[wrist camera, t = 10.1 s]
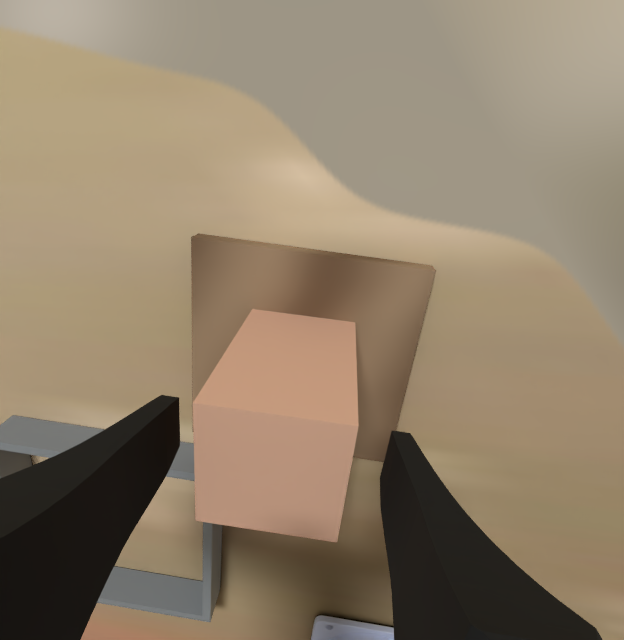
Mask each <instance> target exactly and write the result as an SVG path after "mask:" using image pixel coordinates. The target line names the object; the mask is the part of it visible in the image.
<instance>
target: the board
mask: <svg viewBox="0 0 624 640" xmlns="http://www.w3.org/2000/svg"><path fill="white" fill-rule="evenodd" d="M191 258H192V415H193V402H194V400H195V399H196V397H197V396H198V394H199V392H200V391H201V389H202V388H203V386H204V385H205V383H206V381H207V380H208V378H209V377H210V375H211V373H212V372H213V370H214V369H215V367H216V366H217V364H218V362H219V361H220V359H221V358H222V356H223V355H224V353H225V351H226V350H227V348H228V347H229V345H230V343H231V342H232V340H233V339H234V337H235V336H236V334H237V332H238V331H239V329H240V328H241V326H242V325H243V323H244V321H245V320H246V318H247V317H248V315H249V313H250V312H251V310H252V309H256V310H264V311H272V312H280V313H287V314H295V315H303V316H310V317H318V318H326V319H333V320H341V321H349V322H355V326H356V358H357V390H358V423H359V427H358V432H357V438H356V443H355V448H354V454H353V457H356V458H362V459H369V460H375V461H381V462H384V460H385V456H386V451H387V447H388V443H389V439H390V435H391V431H396V427H397V424H398V420H399V416H400V412H401V408H402V404H403V400H404V396H405V392H406V388H407V384H408V380H409V376H410V372H411V368H412V364H413V360H414V356H415V352H416V348H417V344H418V340H419V336H420V332H421V328H422V324H423V320H424V316H425V313H426V309H427V305H428V301H429V297H430V293H431V289H432V285H433V281H434V277H435V273H436V270H435V269H434V268H433V266H430V265H423V264H416V263H408V262H401V261H394V260H387V259H379V258H372V257H365V256H357V255H350V254H343V253H335V252H328V251H321V250H314V249H306V248H299V247H292V246H284V245H277V244H270V243H263V242H255V241H248V240H241V239H233V238H226V237H219V236H211V235H204V234H197V235H195V236H193V237H191ZM193 432H194V429H193Z"/></svg>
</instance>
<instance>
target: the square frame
mask: <svg viewBox="0 0 624 640" xmlns="http://www.w3.org/2000/svg"><path fill="white" fill-rule="evenodd" d="M102 431H103V429H97V428H91V427H84V426H78V425H72V424H65V423H59V422H52V421H46V420H40V419H33V418H27V417H21V416H14V415H13V416H11V417H10V418H9V419H7V420H6V421H5V422H4V423H2V424H1V425H0V478H2V477H5V476H8V475H10V474H13V473H15V472H18V471H20V470H23V469H25V468H28V467H30V466H32V462H31V457H30V455H36V456H42V457H49V458H51V457H53V456H56V455H58V454H60V453H62V452H64V451H66V450H68V449H70V448H72V447H74V446H76V445H78V444H80V443H82V442H84V441H85V440H87V439H89V438H91V437H93V436H94V435H96V434H98V433H100V432H102ZM166 476H167V477H173V478H179V479H185V480H192V481H195V474H194V444H192V443H186V442H180V447H179V449H178V451H177V454H176V456H175V458H174V461H173V463H172V465H171V467H170V469H169V471H168V473H167V475H166ZM221 551H222V525H220V524H213V523H207V522H203V581H197V580H191V579H185V578H179V577H174V576H168V575H162V574H156V573H150V572H144V571H138V570H132V569H127V568H121V567H115V566H114V567H113V569H112V571H111V574H110V576H109V578H108V580H107V582H106V584H105V586H104V588H103V590H102V593H101V595H100V597H99V599H98V601H97V603H102V604H108V605H114V606H119V607H125V608H131V609H137V610H142V611H148V612H154V613H160V614H165V615H171V616H177V617H183V618H188V619H194V620H200V621H206V622H211V618H212V615H213V611H214V608H215V605H216V601H217V598H218V595H219V591H220V579H221Z"/></svg>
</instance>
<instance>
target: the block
mask: <svg viewBox="0 0 624 640" xmlns="http://www.w3.org/2000/svg"><path fill="white" fill-rule="evenodd" d="M358 427H359V423H358V390H357V358H356V326H355V322H349V321H341V320H333V319H326V318H318V317H310V316H303V315H295V314H287V313H280V312H272V311H264V310H256V309H252V310H251V312H250V313H249V315H248V317H247V318H246V320H245V321H244V323H243V325H242V326H241V328H240V329H239V331H238V332H237V334H236V336H235V337H234V339H233V340H232V342H231V343H230V345H229V347H228V348H227V350H226V351H225V353H224V355H223V356H222V358H221V359H220V361H219V362H218V364H217V366H216V367H215V369H214V370H213V372H212V373H211V375H210V377H209V378H208V380H207V381H206V383H205V385H204V386H203V388H202V389H201V391H200V392H199V394H198V396H197V397H196V399H195V400H194V402H193V429H194V474H195V518H196V521H200V522H207V523H213V524H220V525H226V526H233V527H239V528H246V529H252V530H259V531H265V532H272V533H278V534H285V535H291V536H298V537H304V538H311V539H317V540H324V541H330V542H337V540H338V534H339V529H340V524H341V518H342V513H343V508H344V502H345V497H346V491H347V486H348V481H349V475H350V470H351V464H352V459H353V454H354V448H355V443H356V438H357V432H358Z"/></svg>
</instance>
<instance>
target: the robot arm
mask: <svg viewBox="0 0 624 640" xmlns="http://www.w3.org/2000/svg"><path fill="white" fill-rule="evenodd" d="M179 447H180V424H179V398H178V397H171V396H165V395H161V396H159V397H157V398H156V399H154V400H152V401H151V402H149V403H147V404H146V405H144V406H143V407H141V408H140V409H138V410H136V411H135V412H133V413H132V414H130V415H128V416H127V417H125V418H124V419H122V420H120V421H119V422H117V423H115V424H114V425H112V426H110V427H109V428H107V429H105V430H103V431H102V432H100V433H98V434H96V435H94V436H93V437H91V438H89V439H87V440H85V441H84V442H82V443H80V444H78V445H76V446H74V447H72V448H70V449H68V450H66V451H64V452H62V453H60V454H58V455H56V456H53V457H51V458H49V459H47V460H45V461H42V462H40V463H38V464H35V465H33V466H30V467H28V468H25V469H23V470H20V471H18V472H15V473H13V474H10V475H8V476H5V477H2V478H0V640H80V639H81V637H82V635H83V632H84V630H85V628H86V626H87V623H88V621H89V619H90V616H91V614H92V612H93V610H94V608H95V606H96V603H97V601H98V599H99V597H100V595H101V593H102V590H103V588H104V586H105V584H106V582H107V580H108V578H109V576H110V574H111V571H112V569H113V567H114V565H115V563H116V561H117V559H118V557H119V555H120V553H121V551H122V549H123V547H124V545H125V543H126V542H127V540H128V538H129V536H130V535H131V533H132V531H133V530H134V528H135V526H136V525H137V523H138V521H139V520H140V518H141V516H142V515H143V513H144V512H145V510H146V508H147V507H148V505H149V503H150V502H151V500H152V498H153V497H154V495H155V494H156V492H157V490H158V489H159V487H160V485H161V484H162V482H163V480H164V479H165V477H166V475H167V473H168V471H169V469H170V467H171V465H172V463H173V461H174V458H175V456H176V454H177V451H178V449H179ZM380 500H381V514H382V521H383V528H384V536H385V543H386V550H387V557H388V564H389V571H390V579H391V589H392V604H393V624H394V628H393V627H388V626H382V625H376V624H370V623H364V622H358V621H353V620H347V619H341V618H335V617H329V616H323V615H320V616H317V617H316V618H315V620H314V625H313V630H312V635H311V640H602V638H601V636H600V635H599V633H598V631H597V630H596V628H595V627H593V626H592V625H591V624H589V623H588V622H587V621H585V620H584V619H583V618H581V617H580V616H579V615H577V614H576V613H575V612H573V611H572V610H571V609H570V608H568V607H567V606H566V605H564V604H563V603H562V602H560V601H559V600H558V599H556V598H555V597H554V596H552V595H551V594H550V593H549V592H548V591H546V590H545V589H544V588H543V587H542V586H540V585H539V584H538V583H537V582H536V581H534V580H533V579H532V578H531V577H530V576H529V575H527V574H526V573H525V572H524V571H523V570H522V569H521V568H520V567H518V566H517V565H516V564H515V563H514V562H513V561H512V560H511V559H510V558H509V557H508V556H507V555H506V554H505V553H504V552H502V551H501V550H500V549H499V548H498V547H497V546H496V545H495V544H494V543H493V542H492V541H491V540H490V539H489V538H488V537H487V536H486V535H485V533H484V532H483V531H482V530H481V529H480V528H479V527H478V526H477V525H476V524H475V522H474V521H473V520H472V519H471V518H470V517H469V516H468V515H467V513H466V512H465V511H464V510H463V509H462V508H461V506H460V505H459V504H458V502H457V501H456V500H455V499H454V497H453V496H452V495H451V493H450V492H449V491H448V489H447V488H446V487H445V485H444V484H443V482H442V481H441V480H440V478H439V477H438V475H437V474H436V472H435V471H434V469H433V468H432V466H431V465H430V463H429V462H428V460H427V459H426V457H425V456H424V454H423V453H422V451H421V449H420V448H419V446H418V445H417V443H416V441H415V440H414V438H413V437H412V435H411V434H410V433H405V432H398V431H391V435H390V439H389V443H388V447H387V451H386V456H385V460H384V464H383V468H382V472H381V476H380Z"/></svg>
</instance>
